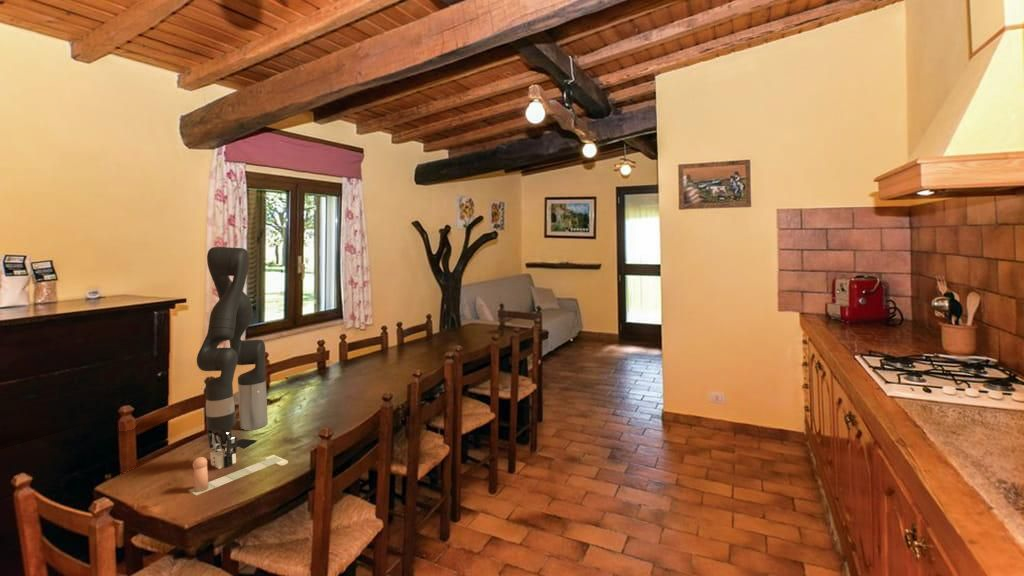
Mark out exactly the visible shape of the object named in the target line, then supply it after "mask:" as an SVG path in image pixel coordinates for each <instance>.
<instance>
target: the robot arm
mask: <svg viewBox="0 0 1024 576" xmlns="http://www.w3.org/2000/svg"><path fill="white" fill-rule="evenodd" d="M206 263H207V267H208V270H209V274H210V276H211V279H212V282H213V285H214V287H215V289H216V293H217V296H218V301H217V302H216V303H215V304H214V306H213V307H212V310H211V312H210V315H209V320H208V321H209V322H208V327H207V333H206V336H205V338H204V340H203V342H202V344H201V346H200V348H199V351H198V353H197V356H196V364H197V367H198V369H199V370H201V371H203V372H220V375H219V376H217V377H213V378H209V379H208V380H207V381H206V382H205V417H206V418H205V419H206V429H207V430H206V433H207V438H208V445H209V449H212V451H215V450H218V449H221V450H222V452H223V458H224V467H223V468H228V467H231V466H233V464H234V463H233V462H232V454H235V453H236V454H237V449H238V447H237V441H238V436H237V435H233V433H232V427H233V426H235V425H236V409H235V406H236V405H235V399H234V390H233V389H234V386H233V382H234V376H235V371H236V368H237V366H249V365H250V366H251V365H254V368H252V369H250V370H248V371H246V372H244V373H241V374H240V375H238V377H237V387H238V388H237V389H238V414H239V415H238V416H239V418H238V419H239V428H240V429H241V430H242V429H244V430H243V431H253V430H258V429H261V428H263V427H266V426H267V425H268V424H269V421H268V401H267V399H268V398H267V377H266V344H265V342H264V340H262V339H248V340H247V339H246V340H243V339H242V336H243V334H244V333H245V332H246V330H247V329H248V327H249V326H250V325H251V323H252V322H253V320H254V315H255V314H254V309H253V304H252V301H251V299H250V297H249V296H248V295H247V294H246V292H244V288H245V284H246V281H247V278H248V277H247V276H248V273H249V267H250V255H249V252H248V250H246V248H243V247H226V246H213V247H211V248H209V249H208V251H207V255H206ZM230 277H232V280H231V279H230ZM226 341H227V342H229V346H230V347H219V345H220V344H221V343H223V342H226Z"/></svg>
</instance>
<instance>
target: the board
mask: <svg viewBox="0 0 1024 576" xmlns="http://www.w3.org/2000/svg"><path fill="white" fill-rule="evenodd" d="M264 459H265V460H262V461H259V462H257V463H254V464H251V465H250V466H247V467H244V468H242V469H239V470H236V471H234V472H231V473H229V474H226V475H224V476H221V477H219V478H216V479H213V480H211V481H208V489H207V490H205V491H202V492H195V488H194V487H193V488H190V489H188V490H187V492H189V493H191V494H193V495H195V496H198V495H199V496H200V495H201V494H203V493H204V494H205V493H206V492H208V491H211V490H213V489H215V488H219V487H221V486H222V485H225V484H228V483H230V482H233V481H235V480H238V479H240V478H243V477H246V476H247V475H251V474H252V473H256V472H257V471H260V470H263V469H265V468H267V467H270V466H272V465H275V464H277V465H279V466H281V467H282V466H284V465H287V464H288V463H289V460H287V459H284V458H283V457H280V456H277V455H275V454H272V455H270V456H267V457H265V458H264Z"/></svg>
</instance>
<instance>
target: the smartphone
mask: <svg viewBox="0 0 1024 576" xmlns="http://www.w3.org/2000/svg"><path fill="white" fill-rule="evenodd" d="M254 443H255V444H256V443H258V440H257V439H246V438H245V439H244V438H240V439H237V448H241V449H242V450H246V449H248V448H250V447H251V446H253V445H255V444H254ZM252 444H253V445H252ZM250 445H251V446H250ZM249 446H250V447H249ZM247 447H248V448H247ZM245 448H246V449H245ZM208 457H210V455H209V456H208ZM210 458H211V457H210Z"/></svg>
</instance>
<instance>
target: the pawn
mask: <svg viewBox="0 0 1024 576" xmlns="http://www.w3.org/2000/svg"><path fill="white" fill-rule="evenodd" d="M192 468H193V484H194V487H193V488H195V492H202V491H205V490H207V489H208V484H209V483H208V482H209V475H208V473H209V472H208V460H207V458H206V457H205V456H199V457H197V458H195V459H194V460H193V462H192Z"/></svg>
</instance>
